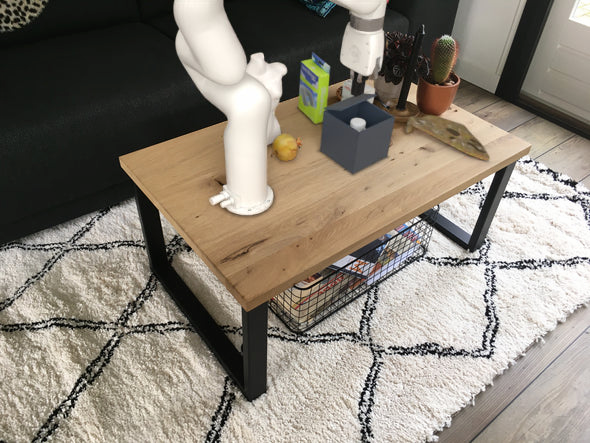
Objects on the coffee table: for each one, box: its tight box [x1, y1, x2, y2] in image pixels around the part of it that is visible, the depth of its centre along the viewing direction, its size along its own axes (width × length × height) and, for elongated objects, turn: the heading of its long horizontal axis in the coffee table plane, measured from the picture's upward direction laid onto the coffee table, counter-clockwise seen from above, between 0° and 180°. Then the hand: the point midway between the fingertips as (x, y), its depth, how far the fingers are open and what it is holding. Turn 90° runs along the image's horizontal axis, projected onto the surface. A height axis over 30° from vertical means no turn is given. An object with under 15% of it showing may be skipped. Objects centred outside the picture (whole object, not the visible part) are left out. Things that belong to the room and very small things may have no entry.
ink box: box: [340, 78, 376, 104], centre depth 145 cm, size 8×5×12 cm, turn 39°
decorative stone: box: [404, 114, 491, 161], centre depth 144 cm, size 25×15×5 cm, turn 51°
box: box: [298, 52, 331, 125], centre depth 145 cm, size 10×4×17 cm, turn 29°
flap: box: [324, 93, 378, 111], centre depth 129 cm, size 13×6×1 cm, turn 129°
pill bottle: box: [350, 118, 366, 132], centre depth 133 cm, size 5×5×10 cm
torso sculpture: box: [246, 52, 288, 146], centre depth 131 cm, size 18×10×25 cm, turn 124°
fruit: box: [270, 133, 303, 162], centre depth 132 cm, size 7×7×10 cm
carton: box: [319, 100, 396, 175], centre depth 133 cm, size 13×13×12 cm
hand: (357, 94), depth 126 cm, fingers closed
